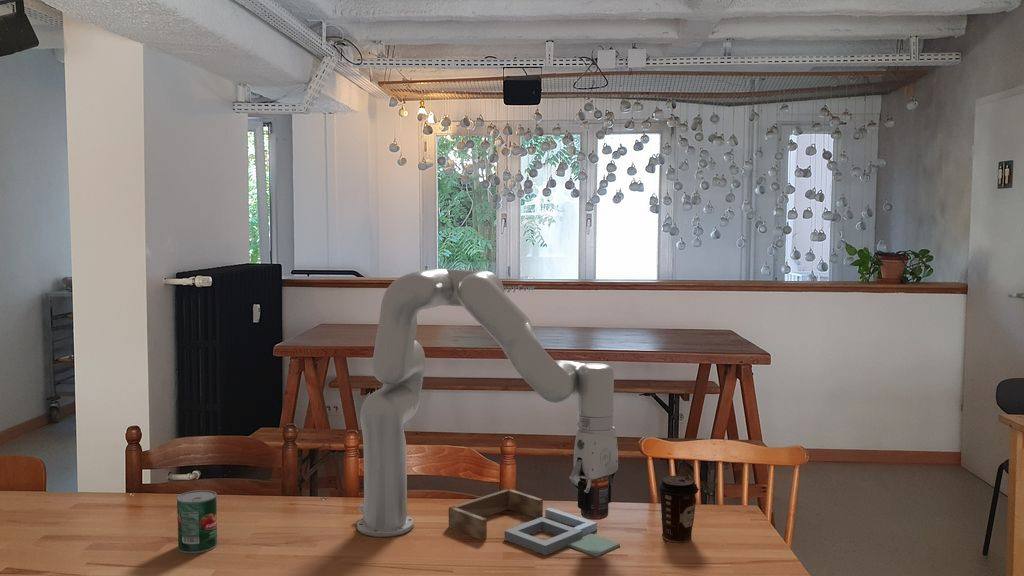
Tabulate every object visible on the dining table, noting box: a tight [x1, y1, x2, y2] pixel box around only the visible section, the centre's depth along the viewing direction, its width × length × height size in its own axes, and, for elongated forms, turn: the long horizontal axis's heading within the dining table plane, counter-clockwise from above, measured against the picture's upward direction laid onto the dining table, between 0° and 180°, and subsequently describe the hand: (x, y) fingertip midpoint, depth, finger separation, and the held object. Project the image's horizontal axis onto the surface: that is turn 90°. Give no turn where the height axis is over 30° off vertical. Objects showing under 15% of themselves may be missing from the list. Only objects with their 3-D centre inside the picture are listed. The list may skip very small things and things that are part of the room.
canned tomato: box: [176, 489, 218, 554], centre depth 175 cm, size 8×8×11 cm
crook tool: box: [544, 507, 598, 537], centre depth 189 cm, size 14×7×2 cm, turn 46°
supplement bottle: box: [580, 474, 609, 521], centre depth 177 cm, size 6×6×11 cm
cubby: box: [448, 488, 544, 541], centre depth 191 cm, size 11×19×4 cm, turn 136°
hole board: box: [503, 516, 583, 556], centre depth 181 cm, size 12×12×2 cm
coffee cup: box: [658, 475, 700, 543], centre depth 182 cm, size 9×8×13 cm
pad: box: [566, 533, 621, 558], centre depth 178 cm, size 8×8×1 cm
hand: (594, 504), depth 177 cm, fingers closed on supplement bottle, 6 cm apart
